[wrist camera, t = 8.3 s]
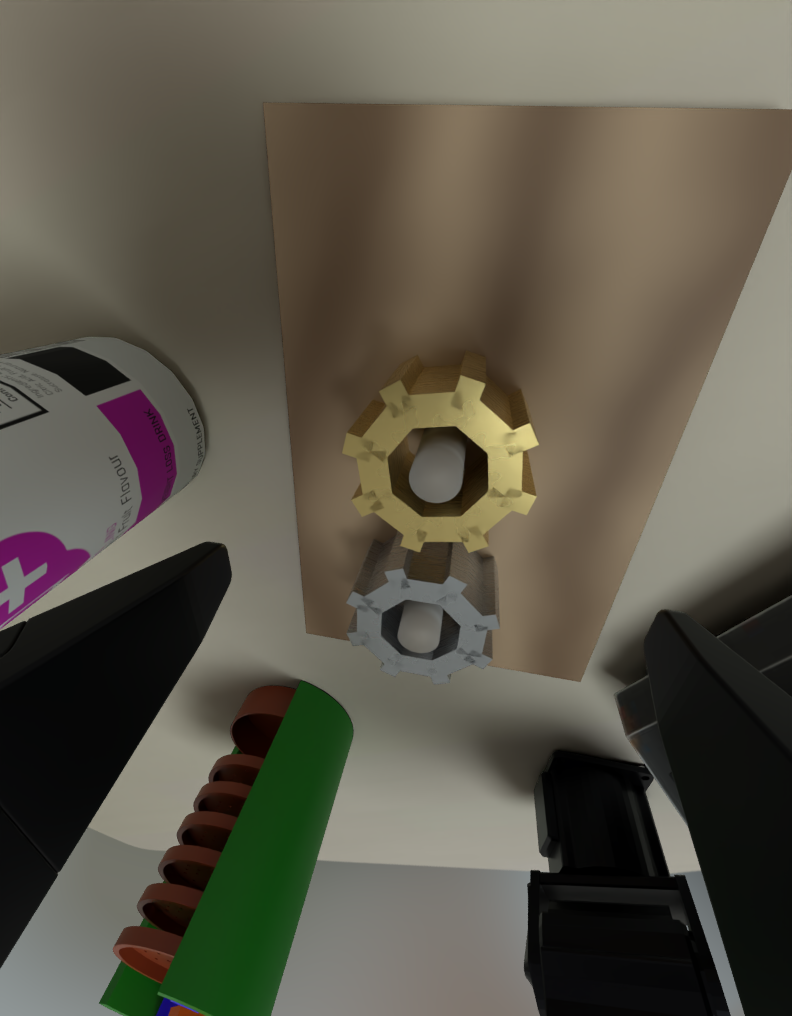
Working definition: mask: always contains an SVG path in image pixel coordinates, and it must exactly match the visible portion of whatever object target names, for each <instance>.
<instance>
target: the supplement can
mask: <svg viewBox="0 0 792 1016" xmlns="http://www.w3.org/2000/svg"><path fill="white" fill-rule="evenodd" d="M204 456H205V441H204V427H203V425H202V422H201V420H200V417H199V415H198V412H197V410H196V407H195V405H194V402H193V399H192V398H191V397H190V395H189V394H188V393H187V391H186V390H185V389H184V387H183V386H182V384H181V383H180V382H179V380H178V379H177V378H176V376H175V375H174V374H173V372H172V371H170V370H169V369H168V368H167V367H166V366H164V365H163V364H162V363H161V362H159V361H158V360H157V359H156V358H154V357H153V356H152V355H151V354H149V353H148V352H147V351H146V350H144V349H141V348H139V347H137V346H134V345H132V344H129V343H127V342H125V341H122V340H120V339H117V338H110V337H84V338H79V339H74V340H70V341H65V342H60V343H55V344H50V345H45V346H40V347H36V348H31V349H26V350H21V351H16V352H11V353H6V354H2V355H0V629H1V628H3V627H4V626H5V625H6V624H8V623H9V622H10V621H12V620H13V619H14V618H16V617H17V616H18V615H19V614H21V613H22V612H23V611H25V610H26V609H27V608H29V607H30V606H31V605H32V604H34V603H35V602H36V601H38V600H39V599H40V598H42V597H43V596H44V595H45V594H47V593H48V592H49V591H51V590H52V589H53V588H55V587H56V586H57V585H58V584H60V583H61V582H62V581H64V580H65V579H66V578H68V577H69V576H70V575H71V574H73V573H74V572H75V571H77V570H78V569H79V568H81V567H82V566H83V565H84V564H86V563H87V562H88V561H90V560H91V559H92V558H93V557H95V556H96V555H97V554H99V553H100V552H101V551H103V550H104V549H105V548H106V547H108V546H109V545H110V544H112V543H113V542H114V541H116V540H117V539H118V538H119V537H121V536H122V535H123V534H125V533H126V532H127V531H129V530H130V529H131V528H132V527H134V526H135V525H136V524H138V523H139V522H140V521H142V520H143V519H144V518H145V517H147V516H148V515H149V514H151V513H152V512H153V511H155V510H156V509H157V508H158V507H160V506H161V505H162V504H164V503H165V502H166V501H168V500H169V499H170V498H171V497H173V496H174V495H175V494H177V493H178V492H179V491H181V490H182V489H183V488H184V487H185V486H186V485H187V484H189V483H190V482H191V481H192V480H193V479H194V478H195V477H196V476H197V475H198V473H199V470H200V468H201V465H202V462H203V459H204Z"/></svg>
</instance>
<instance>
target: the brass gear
mask: <svg viewBox="0 0 792 1016" xmlns="http://www.w3.org/2000/svg"><path fill="white" fill-rule="evenodd" d="M379 393H380V394H381V396H382V398H383V400H384V402H385V403H382V402H379V401H376V400H372V401H371V402H370V404H369V405H368V406H367V408H366V409H365V410H364V411H363V413H362V414H361V415H360V416H359V418H358V419H357V420H356V422H355V423H354V424H353V425H352V427H351V428H350V429H349V430H348V432H347V434H346V438H345V442H344V447H343V451H342V453H343V454H345V455H348V456H351V457H354V458H357V464H358V470H359V475H360V481H361V483H360V485H359V486H358V488H357V490H356V492H355V494H354V495H353V497H352V499H351V501H352V502H353V504H354V505H355V507H356V508H357V510H358V512H359V513H360V515H361V516H362V517H363V516H366V515H368V514H370V513H373V512H374V513H376V514H377V515H378V516H380V517H381V518H382V519H384V520H385V521H386V522H387V523H389V524H390V525H391V526H393V527H394V528H395V529H397V530H398V531H399V532H400V533H402V534H403V538H402V541H401V544H400V546H402V547H405V548H408V549H411V550H414V551H417V552H420V551H421V548H422V545H423V543H424V542H463V544H464V545H465V547H466V549H467V551H468V553H470V552H473V551H476V550H479V549H482V548H485V547H488V546H489V529H491V528H492V527H493V526H494V525H495V524H497V523H498V522H499V521H500V520H501V519H502V518H504V517H505V516H506V515H507V514H508V513H510V512H511V511H515V512H518V513H521V514H524V515H527V514H528V512H529V510H530V508H531V506H532V504H533V503H534V501H535V499H536V497H537V495H536V490H535V485H534V481H533V476H532V471H531V466H530V461H529V456H528V451H526V450H528V449H530V448H533V447H535V446H537V445H539V443H538V439H537V435H536V432H535V428H534V424H533V421H532V417H531V413H530V410H529V406H528V404H527V402H526V399H525V397H524V395H523V392H522V390H521V389H520V390H518V391H516V392H514V393H511V394H509V395H507V394H506V393H505V392H504V391H503V390H502V389H501V388H500V387H498V386H497V385H496V384H495V383H494V382H493V381H492V380H491V379H490V378H488V377H487V376H486V357H485V356H482V355H479V354H476V353H473V352H470V351H467V350H466V352H465V355H464V358H463V360H462V363H461V364H456V365H444V366H432V367H424V366H423V364H422V362H421V360H420V358H419V356H418V355H416V356H414V357H413V358H411V359H409V360H407V361H405V362H404V363H402V364H400V365H399V366H398V368H397V369H396V370H395V372H394V373H393V374H392V375H391V377H390V378H389V379H388V380H387V382H386V383H385V384H384V385H383V387H382V388H381V389H380V391H379ZM448 426H456V427H457V428H459V429H460V430H461V431H462V432H463V433H464V434H466V435H467V436H468V437H469V438H470V439H471V440H473V441H474V442H475V443H476V444H477V445H478V446H480V447H481V448H482V449H483V450H484V452H483V453H482V454H481V455H480V456H479V457H478V458H477V459H476V460H475V461H474V462H473V463H472V464H471V465H470V466H469V467H468V468H467V469H465V470H464V471H463V480H462V486H461V489H460V491H459V492H458V494H457V495H456V496H455V497H454V498H452V499H451V500H449V501H446V502H442V503H431V502H427V501H425V500H423V499H421V498H420V497H418V496H417V495H416V494H415V493H414V492H413V490H412V488H411V486H410V483H409V473H410V470H411V467H412V464H413V461H414V459H415V455H414V454H412V453H411V452H410V451H409V446H408V437H407V434H408V433H409V432H410V431H411V430H412V429H413V428H430V427H448Z"/></svg>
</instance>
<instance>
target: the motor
mask: <svg viewBox="0 0 792 1016" xmlns="http://www.w3.org/2000/svg"><path fill="white" fill-rule="evenodd" d="M230 734H231V738H232V740H233V742H234V744H235V745H236V746H235V748H234V750H233V752H232V753H231V755H226V756H223V757H221V758H220V759H218V760H217V761H216V763H215V765H214V766H213V768H212V770H211V772H210V774H209V783H208V784H206V785H204V786H203V787H202V788H201V790H200V792H199V794H198V795H197V797H196V799H195V801H194V805H193V806H194V810H195V812H194V813H191V814H189V815H187V816H186V817H185V819H184V821H183V822H182V824H181V826H180V828H179V830H178V832H177V839H178V842H179V844H180V845H178V846H174V847H171V848H169V849H168V850H167V851H166V853H165V855H164V857H163V859H162V861H161V862H160V864H159V867H158V872H159V874H160V876H161V877H162V879H163V880H164V882H163V883H156V884H151V885H149V886H148V887H147V888H146V889H145V891H144V893H143V895H142V897H141V898H140V900H139V902H138V904H137V909H138V911H139V913H140V914H141V916H142V917H143V918H144V919H143V921H142V923H141V925H140V926H130V927H126V928H124V929H123V931H122V933H121V935H120V936H119V938H118V940H117V942H116V944H115V946H114V947H113V952H114V954H115V955H116V956H117V957H118V958H119V959H120V960H121V963H120V964H119V966H118V968H117V970H116V972H115V974H114V976H113V978H112V980H111V981H110V983H109V985H108V987H107V989H106V991H105V993H104V995H103V996H102V998H101V1000H100V1002H99V1004H101V1005H103V1006H105V1007H107V1008H109V1009H111V1010H113V1011H115V1012H117V1013H119V1014H121V1015H123V1016H271V1013H272V1010H273V1006H274V1003H275V1000H276V996H277V993H278V989H279V986H280V983H281V979H282V976H283V972H284V969H285V966H286V962H287V959H288V955H289V952H290V948H291V945H292V942H293V939H294V935H295V932H296V929H297V925H298V921H299V918H300V915H301V912H302V908H303V905H304V901H305V898H306V895H307V891H308V888H309V884H310V881H311V877H312V874H313V871H314V868H315V864H316V861H317V857H318V854H319V851H320V847H321V844H322V840H323V837H324V834H325V830H326V827H327V824H328V820H329V817H330V813H331V810H332V807H333V803H334V800H335V796H336V793H337V790H338V786H339V783H340V780H341V776H342V773H343V769H344V766H345V763H346V759H347V756H348V752H349V749H350V746H351V742H352V739H353V726H352V723H351V720H350V718H349V717H348V715H347V713H346V712H345V711H344V709H343V708H342V707H341V706H340V705H339V704H338V703H337V702H336V701H335V700H334V699H333V698H332V697H330V696H329V695H328V694H326V693H325V692H323V691H322V690H320V689H318V688H316V687H315V686H313V685H311V684H308V683H306V682H304V681H300V683H299V686H298V688H297V690H295V689H292V688H288V687H283V686H264V687H260V688H257V689H255V690H253V691H252V692H251V693H250V694H249V695H248V696H247V698H246V700H245V701H244V703H243V705H242V707H241V708H240V710H239V712H238V714H237V716H236V717H235V719H234V721H233V723H232V725H231V728H230Z"/></svg>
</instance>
